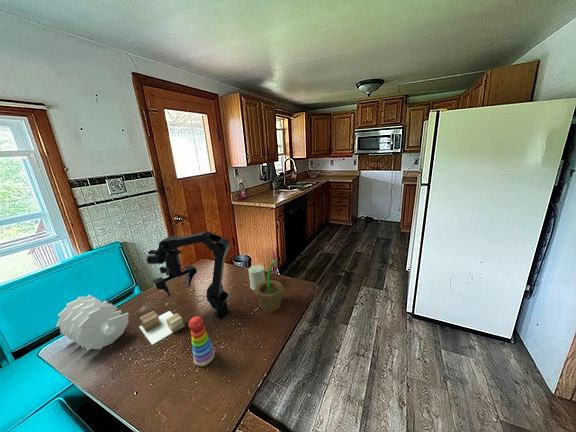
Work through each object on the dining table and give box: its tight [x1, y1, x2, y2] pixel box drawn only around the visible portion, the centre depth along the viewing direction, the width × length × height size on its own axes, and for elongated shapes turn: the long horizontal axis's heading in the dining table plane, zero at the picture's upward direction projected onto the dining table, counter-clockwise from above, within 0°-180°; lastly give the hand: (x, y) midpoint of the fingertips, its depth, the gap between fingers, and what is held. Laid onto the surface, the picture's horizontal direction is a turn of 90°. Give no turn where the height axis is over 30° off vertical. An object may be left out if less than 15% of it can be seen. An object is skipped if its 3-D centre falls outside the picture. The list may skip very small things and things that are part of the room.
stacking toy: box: [188, 315, 216, 367], centre depth 87 cm, size 8×8×19 cm
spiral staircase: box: [55, 294, 130, 351], centre depth 101 cm, size 18×18×25 cm
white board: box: [138, 310, 185, 346], centre depth 108 cm, size 17×14×1 cm
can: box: [248, 264, 266, 291], centre depth 134 cm, size 9×9×12 cm
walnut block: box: [139, 310, 160, 332], centre depth 108 cm, size 6×6×5 cm
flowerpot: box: [254, 250, 284, 313], centre depth 113 cm, size 14×14×30 cm
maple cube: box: [166, 313, 185, 334], centre depth 105 cm, size 5×5×5 cm
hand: (179, 291), depth 112 cm, fingers open, 9 cm apart
